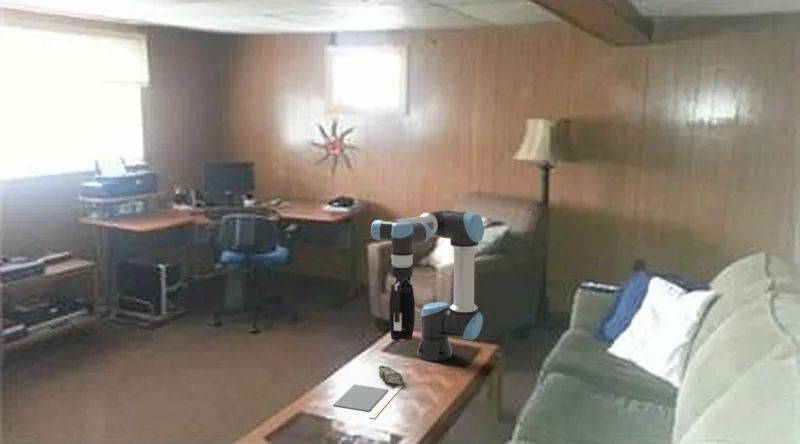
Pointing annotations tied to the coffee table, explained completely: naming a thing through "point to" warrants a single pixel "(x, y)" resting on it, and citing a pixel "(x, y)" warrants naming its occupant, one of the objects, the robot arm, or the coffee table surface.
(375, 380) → the coffee table surface
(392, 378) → the mineral rock
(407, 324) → the portable speaker
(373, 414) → the strip
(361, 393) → the mat
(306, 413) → the coffee table surface
